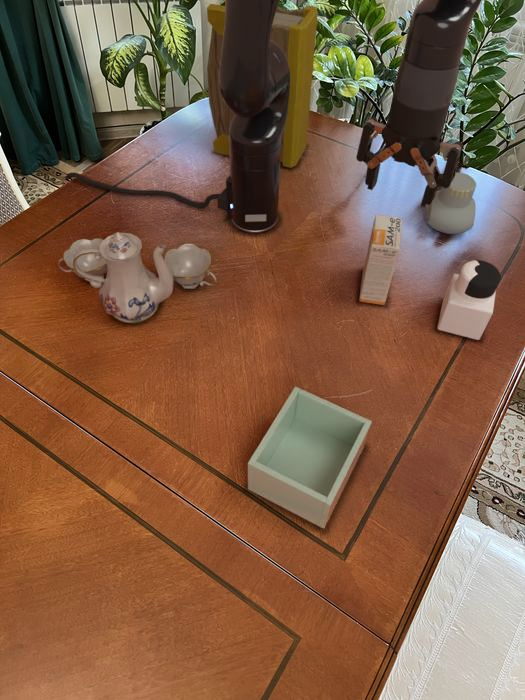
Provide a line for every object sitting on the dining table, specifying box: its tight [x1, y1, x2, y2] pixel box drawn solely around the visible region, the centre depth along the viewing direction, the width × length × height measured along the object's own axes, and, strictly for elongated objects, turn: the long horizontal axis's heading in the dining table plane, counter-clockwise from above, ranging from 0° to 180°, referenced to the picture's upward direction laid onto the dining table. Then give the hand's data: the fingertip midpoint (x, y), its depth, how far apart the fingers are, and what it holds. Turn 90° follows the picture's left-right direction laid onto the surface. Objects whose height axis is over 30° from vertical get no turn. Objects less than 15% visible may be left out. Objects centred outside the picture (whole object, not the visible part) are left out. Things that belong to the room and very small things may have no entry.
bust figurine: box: [437, 259, 502, 341], centre depth 94 cm, size 7×7×12 cm
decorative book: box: [206, 0, 319, 169], centre depth 118 cm, size 20×11×30 cm, turn 69°
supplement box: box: [358, 214, 403, 306], centre depth 98 cm, size 8×5×13 cm, turn 168°
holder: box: [247, 386, 373, 530], centre depth 78 cm, size 12×14×8 cm
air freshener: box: [425, 172, 477, 235], centre depth 111 cm, size 11×8×10 cm
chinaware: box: [57, 231, 218, 324], centre depth 96 cm, size 28×17×17 cm, turn 91°
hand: (397, 195), depth 87 cm, fingers open, 8 cm apart
